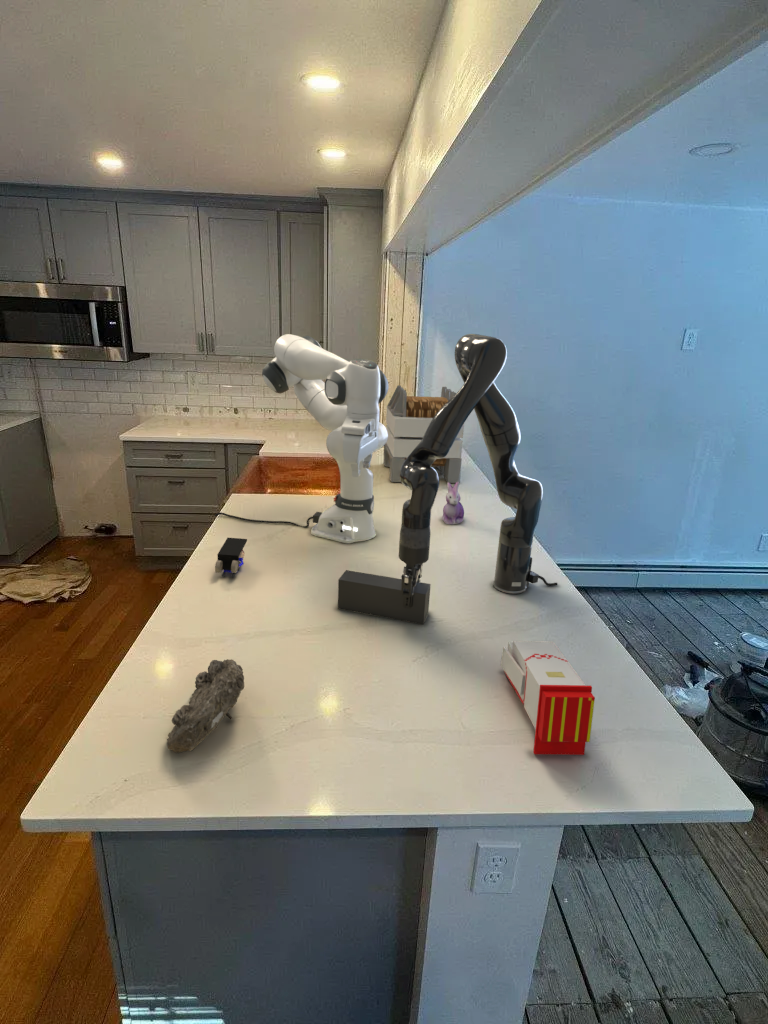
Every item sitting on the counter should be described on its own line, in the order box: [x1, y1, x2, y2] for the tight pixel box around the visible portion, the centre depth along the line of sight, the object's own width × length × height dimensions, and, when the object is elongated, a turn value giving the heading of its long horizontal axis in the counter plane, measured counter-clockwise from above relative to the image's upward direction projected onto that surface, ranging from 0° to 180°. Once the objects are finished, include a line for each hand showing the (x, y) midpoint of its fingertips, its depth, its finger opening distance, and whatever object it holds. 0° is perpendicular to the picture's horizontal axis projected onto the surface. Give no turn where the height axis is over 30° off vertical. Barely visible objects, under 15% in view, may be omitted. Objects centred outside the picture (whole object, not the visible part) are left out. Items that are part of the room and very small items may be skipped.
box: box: [337, 569, 432, 625], centre depth 147 cm, size 23×6×9 cm, turn 74°
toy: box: [500, 640, 596, 756], centre depth 114 cm, size 12×13×30 cm
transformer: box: [383, 384, 465, 484], centre depth 268 cm, size 34×33×41 cm
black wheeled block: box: [214, 537, 248, 578], centre depth 166 cm, size 7×8×15 cm
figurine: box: [441, 482, 465, 525], centre depth 212 cm, size 9×10×15 cm
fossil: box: [166, 658, 245, 754], centre depth 106 cm, size 22×10×15 cm
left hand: (361, 472), depth 157 cm, fingers open, 8 cm apart
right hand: (410, 601), depth 145 cm, fingers closed on box, 6 cm apart
